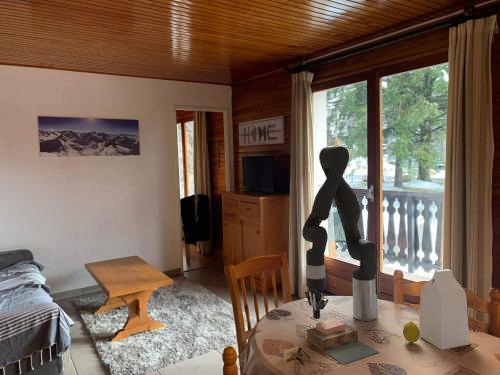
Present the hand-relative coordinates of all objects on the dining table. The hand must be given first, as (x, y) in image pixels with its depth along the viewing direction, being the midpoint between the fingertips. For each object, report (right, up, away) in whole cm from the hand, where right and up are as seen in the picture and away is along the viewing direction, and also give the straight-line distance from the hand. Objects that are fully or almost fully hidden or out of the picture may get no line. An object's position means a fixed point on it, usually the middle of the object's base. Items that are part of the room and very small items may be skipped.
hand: (316, 318), depth 151 cm
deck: (+4, -5, -8) cm, 11 cm away
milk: (+45, -4, -11) cm, 46 cm away
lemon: (+32, -5, -13) cm, 35 cm away
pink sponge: (+4, -1, -8) cm, 9 cm away
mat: (+9, -6, -18) cm, 21 cm away
